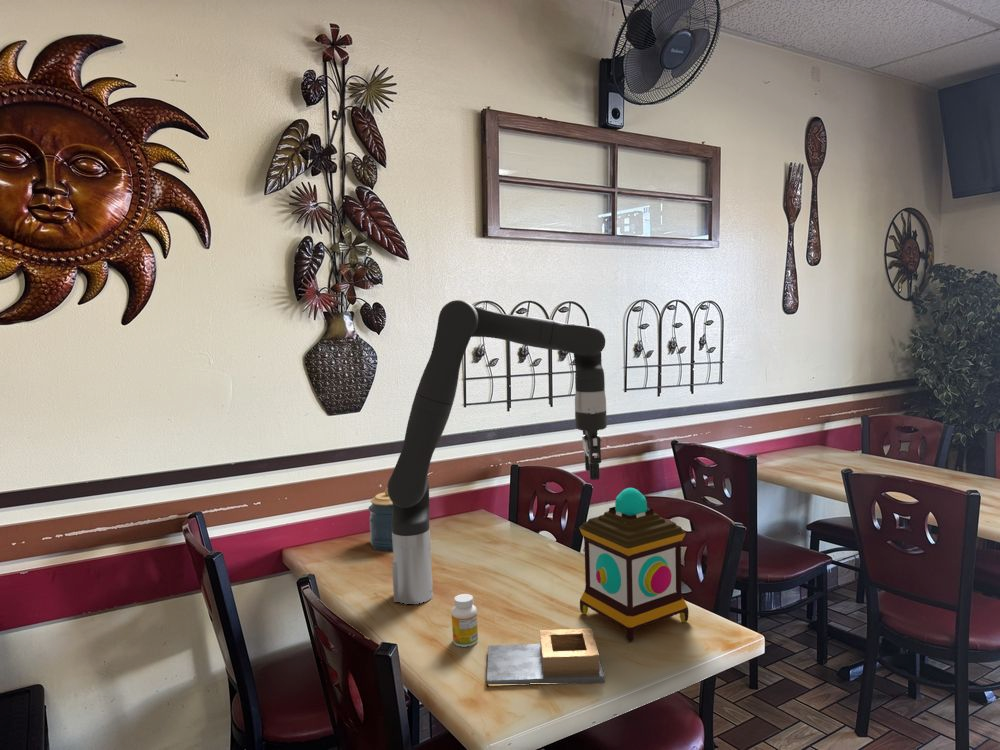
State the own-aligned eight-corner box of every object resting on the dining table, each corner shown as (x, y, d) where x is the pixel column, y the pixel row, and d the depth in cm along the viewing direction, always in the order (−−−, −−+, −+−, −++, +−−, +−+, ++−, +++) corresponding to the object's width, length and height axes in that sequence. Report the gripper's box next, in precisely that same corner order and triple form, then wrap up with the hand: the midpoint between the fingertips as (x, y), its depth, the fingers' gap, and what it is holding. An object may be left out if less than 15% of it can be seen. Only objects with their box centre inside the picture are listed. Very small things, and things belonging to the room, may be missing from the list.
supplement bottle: (452, 636, 144) (450, 593, 143) (477, 634, 145) (475, 591, 144) (453, 648, 139) (451, 604, 138) (478, 646, 139) (476, 602, 138)
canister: (368, 540, 208) (365, 485, 206) (409, 534, 212) (406, 480, 210) (373, 554, 196) (369, 495, 194) (416, 547, 200) (413, 490, 198)
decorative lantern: (571, 612, 153) (567, 485, 150) (636, 591, 163) (633, 472, 160) (629, 649, 136) (626, 506, 133) (698, 623, 146) (696, 489, 143)
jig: (487, 686, 124) (486, 662, 124) (488, 651, 137) (487, 629, 137) (604, 682, 124) (603, 658, 124) (594, 647, 137) (594, 625, 137)
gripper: (571, 405, 167) (573, 468, 169) (578, 414, 153) (580, 483, 155) (601, 404, 167) (603, 467, 169) (610, 413, 153) (612, 481, 155)
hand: (592, 474), depth 162 cm, fingers open, 8 cm apart
